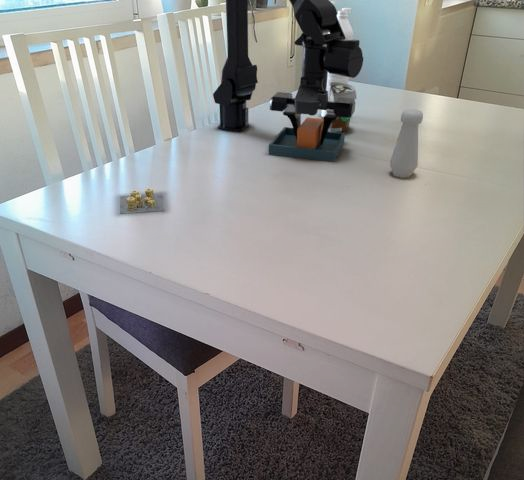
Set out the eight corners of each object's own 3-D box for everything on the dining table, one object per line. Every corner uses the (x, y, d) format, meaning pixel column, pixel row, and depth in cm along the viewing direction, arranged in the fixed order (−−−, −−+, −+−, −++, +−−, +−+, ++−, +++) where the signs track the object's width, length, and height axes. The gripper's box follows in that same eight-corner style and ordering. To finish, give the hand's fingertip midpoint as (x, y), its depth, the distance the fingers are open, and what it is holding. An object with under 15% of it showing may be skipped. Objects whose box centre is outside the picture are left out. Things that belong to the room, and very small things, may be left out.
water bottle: (341, 121, 146) (352, 12, 130) (318, 118, 148) (326, 11, 132) (349, 112, 152) (360, 8, 137) (326, 110, 154) (335, 7, 138)
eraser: (296, 151, 125) (297, 129, 122) (305, 138, 132) (307, 117, 129) (313, 153, 124) (315, 131, 121) (322, 140, 131) (324, 118, 128)
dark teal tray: (268, 154, 125) (268, 144, 123) (284, 136, 135) (284, 126, 134) (333, 161, 121) (334, 151, 120) (344, 142, 132) (345, 133, 131)
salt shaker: (418, 172, 117) (430, 108, 109) (412, 181, 113) (425, 115, 105) (391, 167, 119) (402, 104, 111) (385, 176, 115) (395, 111, 107)
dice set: (128, 210, 100) (126, 200, 99) (128, 199, 104) (126, 189, 103) (155, 208, 101) (154, 198, 100) (154, 197, 105) (153, 188, 103)
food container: (355, 137, 135) (360, 94, 129) (330, 136, 135) (334, 93, 129) (350, 122, 145) (354, 82, 139) (327, 122, 145) (330, 81, 139)
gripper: (263, 75, 114) (262, 150, 124) (351, 82, 110) (343, 159, 120) (277, 64, 122) (275, 135, 132) (359, 70, 118) (351, 143, 128)
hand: (309, 143), depth 128 cm, fingers open, 5 cm apart
